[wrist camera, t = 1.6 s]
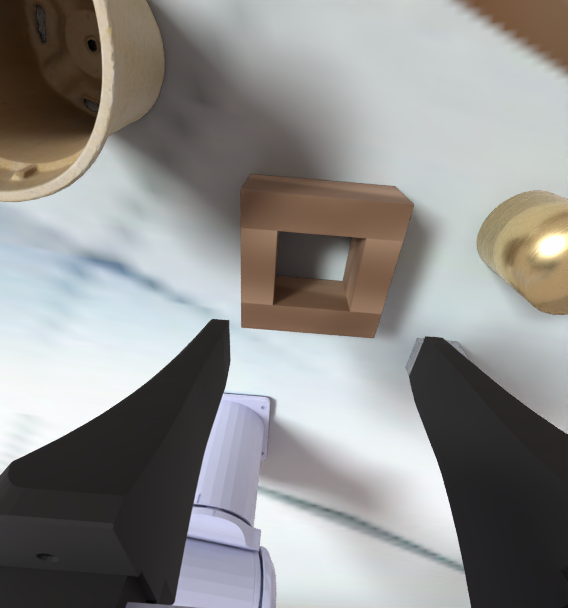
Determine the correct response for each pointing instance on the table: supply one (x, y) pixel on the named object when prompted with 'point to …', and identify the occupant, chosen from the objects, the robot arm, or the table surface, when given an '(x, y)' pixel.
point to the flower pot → (70, 87)
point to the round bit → (530, 248)
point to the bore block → (325, 221)
